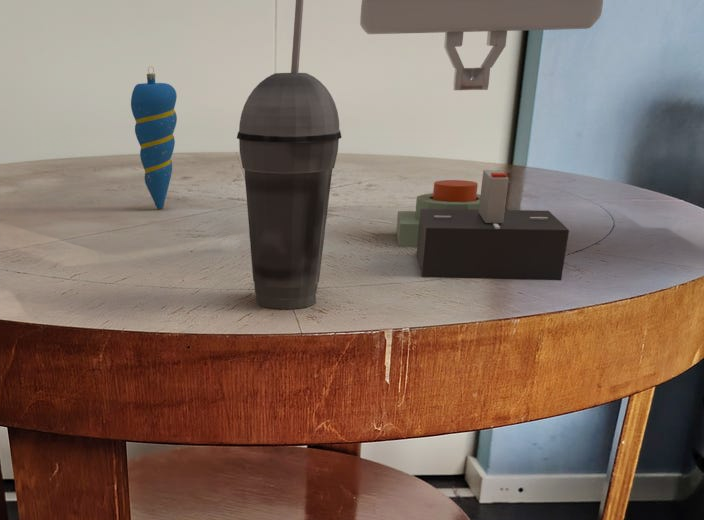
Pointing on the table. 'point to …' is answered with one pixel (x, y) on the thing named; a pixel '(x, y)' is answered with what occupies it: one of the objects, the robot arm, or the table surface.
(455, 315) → the table surface
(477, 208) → the housing
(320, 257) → the beverage cup
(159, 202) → the ornament
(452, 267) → the block
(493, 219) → the knob
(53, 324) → the table surface
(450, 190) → the button
